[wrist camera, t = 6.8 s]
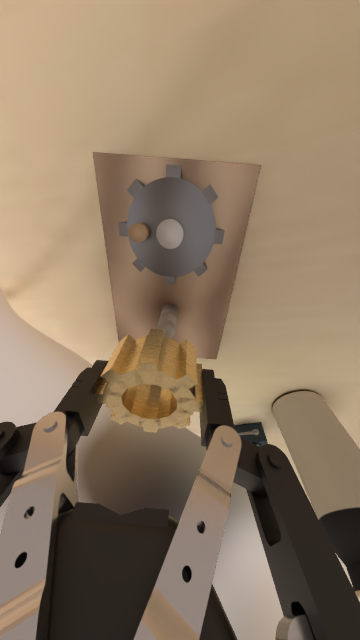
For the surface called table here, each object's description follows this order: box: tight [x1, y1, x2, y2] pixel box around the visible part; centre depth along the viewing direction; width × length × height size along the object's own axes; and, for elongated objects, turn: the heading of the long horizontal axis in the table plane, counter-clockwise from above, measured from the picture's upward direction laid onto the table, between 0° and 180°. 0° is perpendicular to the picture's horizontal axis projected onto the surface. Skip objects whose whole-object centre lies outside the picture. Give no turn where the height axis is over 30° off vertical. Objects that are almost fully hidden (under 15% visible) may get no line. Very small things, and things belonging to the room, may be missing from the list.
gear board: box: [93, 152, 261, 359], centre depth 17 cm, size 13×20×6 cm, turn 176°
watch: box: [234, 422, 267, 447], centre depth 30 cm, size 6×8×11 cm
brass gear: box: [95, 328, 203, 432], centre depth 11 cm, size 6×6×3 cm
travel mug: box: [272, 391, 360, 601], centre depth 22 cm, size 8×8×18 cm
